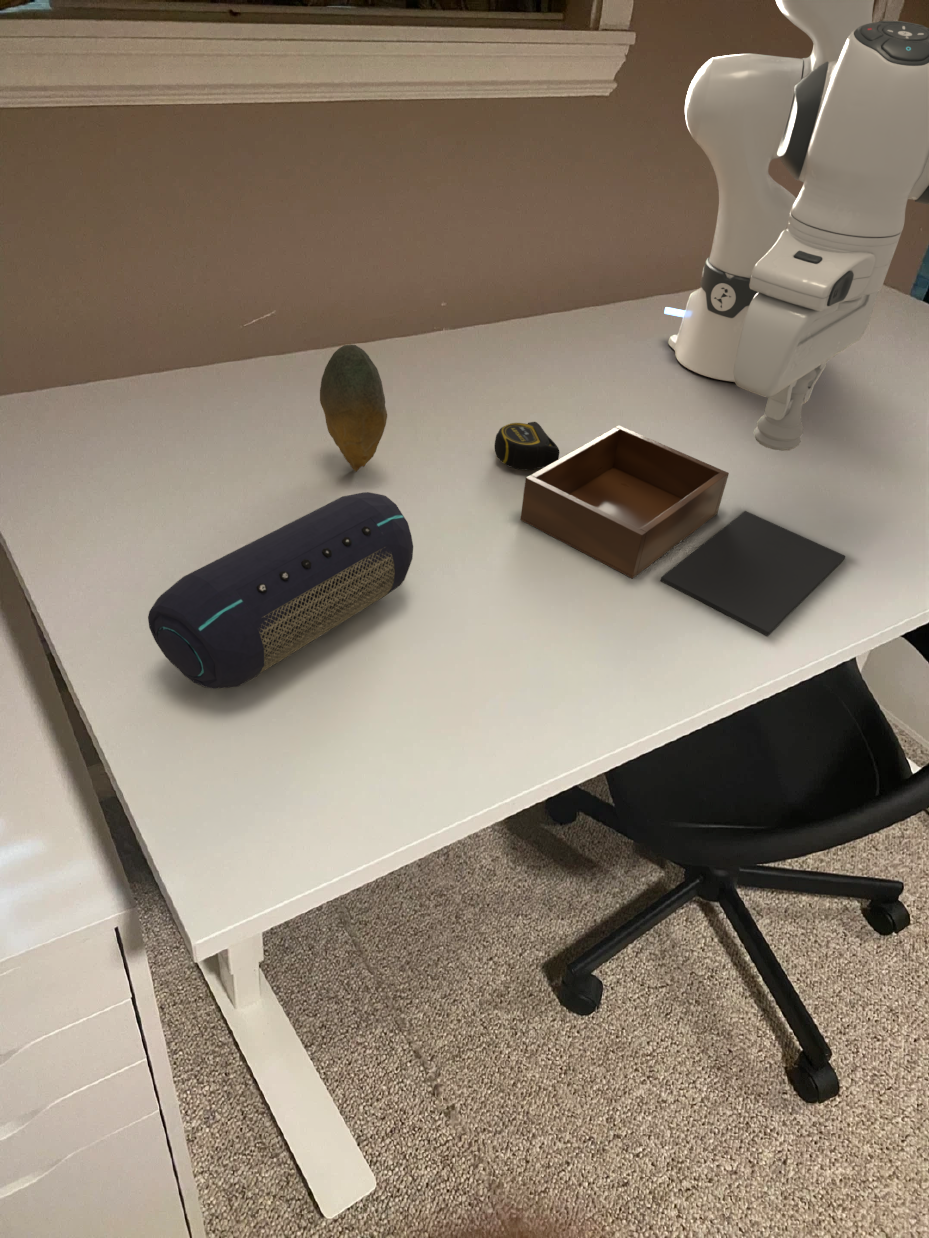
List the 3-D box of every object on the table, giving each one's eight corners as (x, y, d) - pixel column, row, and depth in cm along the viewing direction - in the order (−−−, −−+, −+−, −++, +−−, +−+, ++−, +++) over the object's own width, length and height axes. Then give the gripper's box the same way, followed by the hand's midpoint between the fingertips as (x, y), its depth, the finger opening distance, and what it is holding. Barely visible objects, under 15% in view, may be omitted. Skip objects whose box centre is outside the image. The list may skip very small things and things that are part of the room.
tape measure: (558, 473, 108) (563, 444, 105) (504, 479, 106) (507, 450, 103) (537, 445, 113) (541, 417, 110) (485, 450, 111) (488, 422, 108)
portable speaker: (219, 729, 73) (205, 634, 66) (145, 669, 77) (125, 575, 71) (430, 593, 88) (435, 505, 82) (357, 550, 93) (356, 464, 87)
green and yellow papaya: (399, 482, 104) (402, 356, 94) (353, 497, 101) (351, 368, 91) (353, 445, 109) (352, 324, 100) (309, 458, 106) (303, 334, 97)
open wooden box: (610, 464, 110) (618, 424, 107) (717, 513, 103) (729, 472, 100) (520, 519, 99) (525, 477, 96) (632, 578, 92) (642, 535, 89)
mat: (744, 514, 103) (745, 510, 103) (844, 559, 98) (846, 555, 97) (660, 580, 92) (661, 576, 92) (767, 636, 87) (769, 632, 86)
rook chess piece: (743, 439, 86) (766, 359, 81) (766, 425, 89) (790, 346, 84) (786, 457, 84) (812, 376, 79) (808, 442, 87) (835, 362, 82)
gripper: (848, 225, 84) (803, 367, 92) (742, 272, 71) (701, 431, 80) (916, 243, 81) (862, 388, 89) (817, 296, 68) (766, 458, 77)
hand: (785, 409), depth 85 cm, fingers closed on rook chess piece, 3 cm apart
